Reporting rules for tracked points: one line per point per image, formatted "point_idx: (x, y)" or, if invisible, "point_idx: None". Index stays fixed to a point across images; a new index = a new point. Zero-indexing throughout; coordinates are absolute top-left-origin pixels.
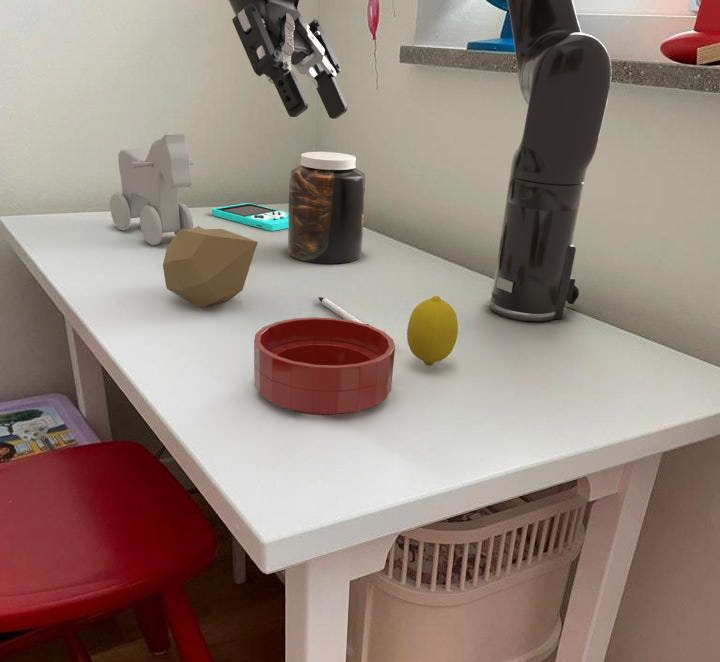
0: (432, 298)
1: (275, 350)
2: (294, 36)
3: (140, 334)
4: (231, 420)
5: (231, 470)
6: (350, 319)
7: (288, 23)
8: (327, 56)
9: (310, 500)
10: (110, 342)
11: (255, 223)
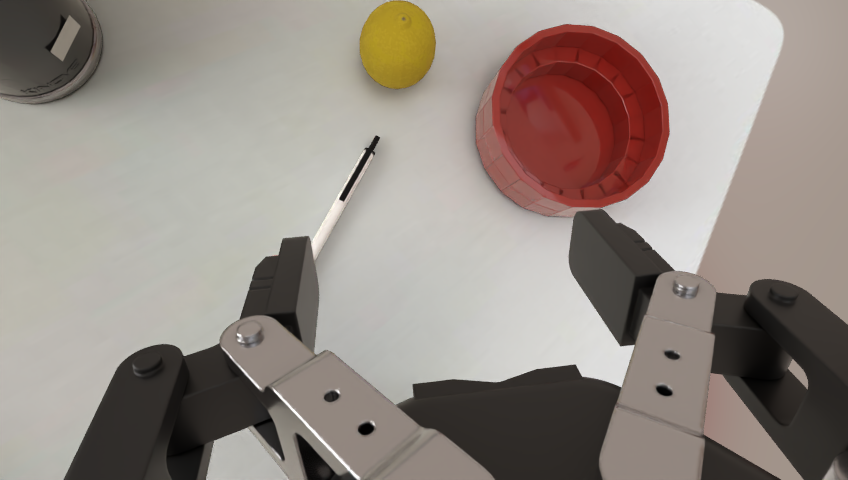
0: (408, 24)
1: (580, 196)
2: (539, 444)
3: None
4: (672, 172)
5: (740, 107)
6: (324, 242)
7: (681, 429)
8: (168, 430)
9: (731, 23)
10: None
11: None
